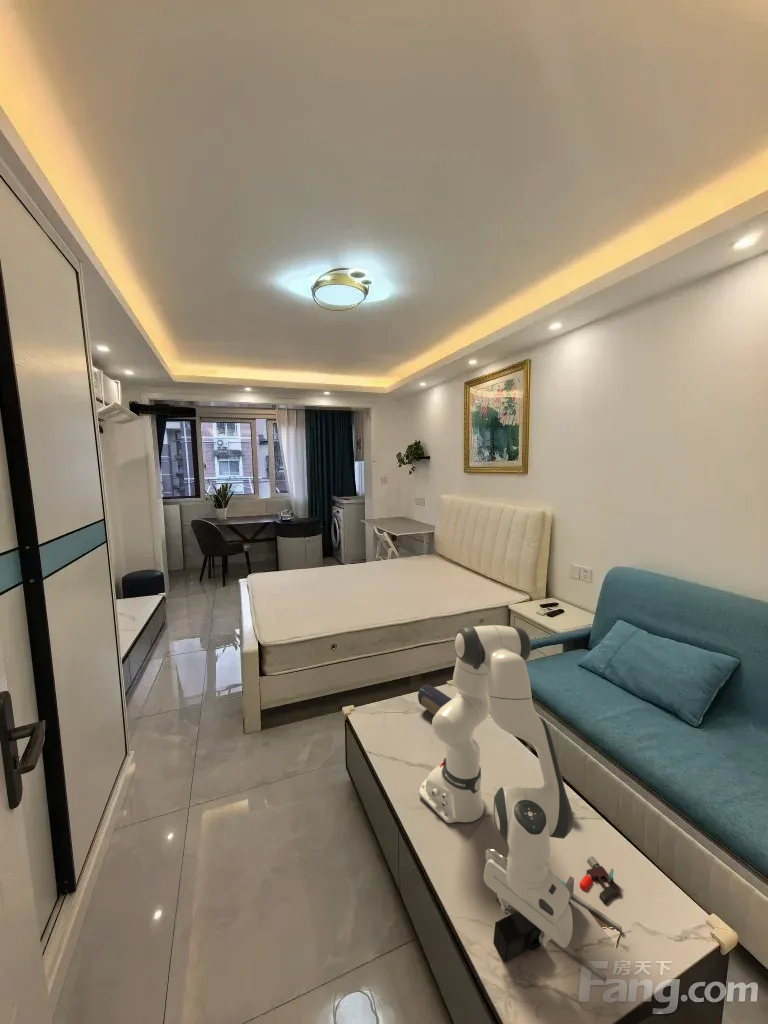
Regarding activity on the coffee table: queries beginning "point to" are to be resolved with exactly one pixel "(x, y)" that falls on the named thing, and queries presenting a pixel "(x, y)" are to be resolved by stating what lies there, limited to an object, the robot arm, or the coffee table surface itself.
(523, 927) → the digital camera
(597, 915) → the cart track
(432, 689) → the portable speaker
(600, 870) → the toy gun
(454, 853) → the coffee table surface
